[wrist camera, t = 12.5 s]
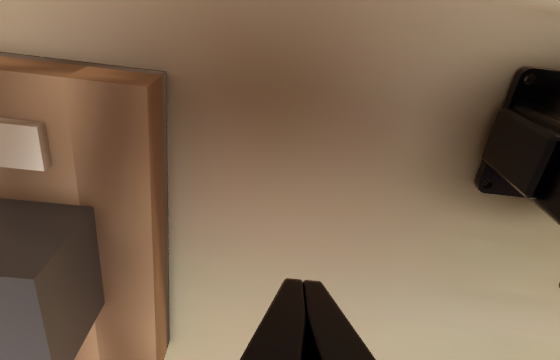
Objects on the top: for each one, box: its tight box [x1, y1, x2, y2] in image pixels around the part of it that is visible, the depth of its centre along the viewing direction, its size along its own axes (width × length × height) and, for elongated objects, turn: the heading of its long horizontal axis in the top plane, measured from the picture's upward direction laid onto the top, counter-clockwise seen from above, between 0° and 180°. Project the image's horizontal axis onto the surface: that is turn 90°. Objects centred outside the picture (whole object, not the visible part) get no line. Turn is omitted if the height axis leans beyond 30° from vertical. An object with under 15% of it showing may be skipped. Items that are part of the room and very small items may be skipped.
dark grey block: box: [0, 198, 105, 360], centre depth 18 cm, size 6×6×7 cm
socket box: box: [0, 52, 169, 360], centre depth 21 cm, size 11×18×4 cm, turn 173°
